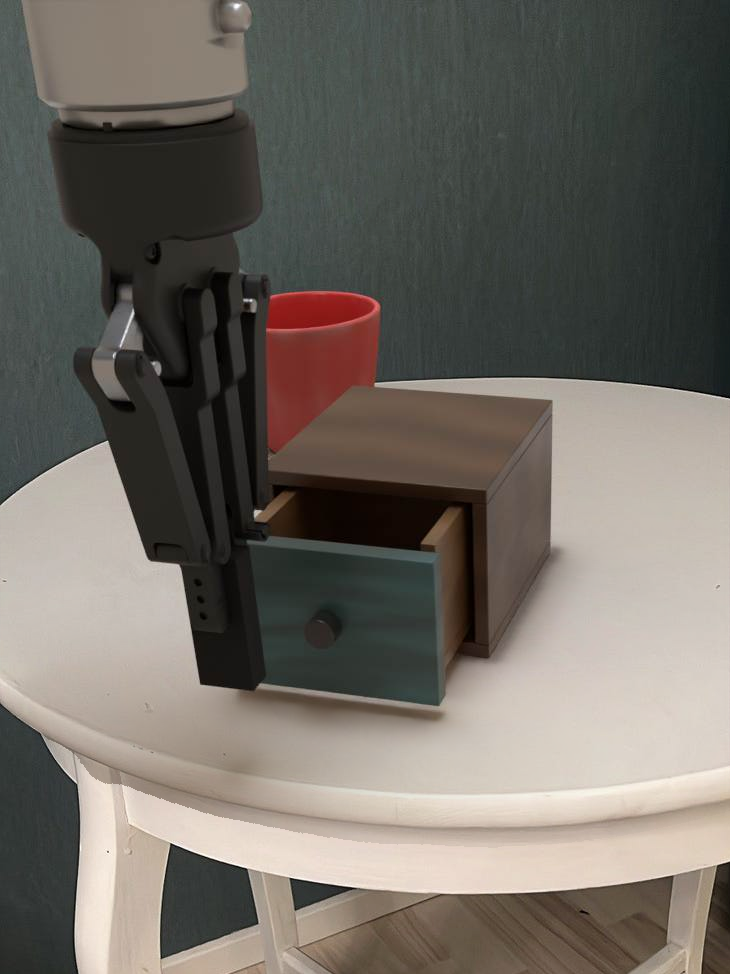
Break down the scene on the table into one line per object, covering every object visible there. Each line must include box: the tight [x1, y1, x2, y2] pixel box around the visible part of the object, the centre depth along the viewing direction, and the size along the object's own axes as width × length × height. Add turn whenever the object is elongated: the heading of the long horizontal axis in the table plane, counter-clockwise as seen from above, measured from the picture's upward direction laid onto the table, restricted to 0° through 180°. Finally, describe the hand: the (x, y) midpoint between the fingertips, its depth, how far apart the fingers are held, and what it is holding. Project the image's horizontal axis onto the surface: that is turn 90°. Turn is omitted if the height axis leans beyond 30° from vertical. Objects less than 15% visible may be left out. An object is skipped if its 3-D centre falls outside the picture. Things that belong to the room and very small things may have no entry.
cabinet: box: [268, 385, 554, 658], centre depth 78 cm, size 15×13×10 cm
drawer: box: [247, 486, 475, 707], centre depth 72 cm, size 15×11×8 cm
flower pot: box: [266, 290, 381, 454], centre depth 100 cm, size 11×11×10 cm
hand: (233, 680), depth 63 cm, fingers closed
